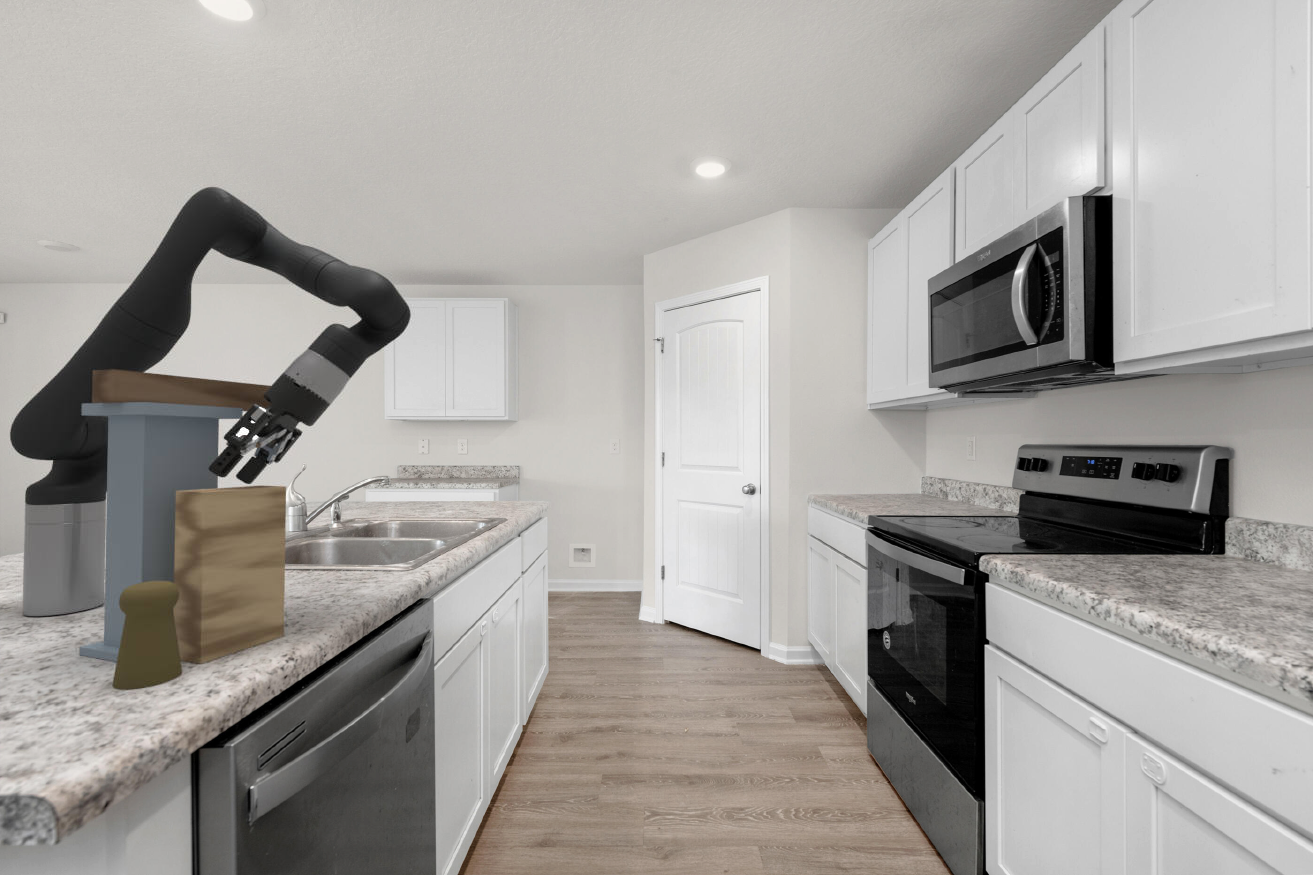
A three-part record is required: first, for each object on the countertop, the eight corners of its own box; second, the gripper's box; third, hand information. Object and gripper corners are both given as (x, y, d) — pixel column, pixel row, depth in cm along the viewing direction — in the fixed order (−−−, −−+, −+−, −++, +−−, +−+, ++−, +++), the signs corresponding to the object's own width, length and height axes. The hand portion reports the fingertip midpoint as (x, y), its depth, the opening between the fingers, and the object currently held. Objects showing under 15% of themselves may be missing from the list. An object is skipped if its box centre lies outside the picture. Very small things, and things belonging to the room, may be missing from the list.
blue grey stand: (76, 654, 74) (81, 403, 74) (179, 626, 85) (183, 409, 86) (139, 666, 70) (144, 402, 70) (238, 635, 81) (242, 408, 82)
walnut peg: (92, 402, 72) (92, 370, 72) (256, 412, 92) (256, 386, 92) (113, 401, 71) (113, 369, 71) (274, 411, 91) (275, 386, 91)
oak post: (172, 658, 73) (175, 491, 73) (257, 632, 83) (260, 485, 83) (200, 663, 71) (203, 492, 71) (283, 635, 81) (286, 486, 82)
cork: (141, 691, 63) (143, 590, 63) (97, 686, 64) (99, 587, 64) (195, 670, 69) (197, 577, 69) (154, 666, 70) (156, 575, 70)
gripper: (301, 386, 92) (227, 469, 88) (268, 358, 79) (178, 455, 74) (342, 412, 93) (271, 496, 89) (317, 389, 80) (231, 487, 75)
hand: (229, 477), depth 81 cm, fingers open, 8 cm apart
